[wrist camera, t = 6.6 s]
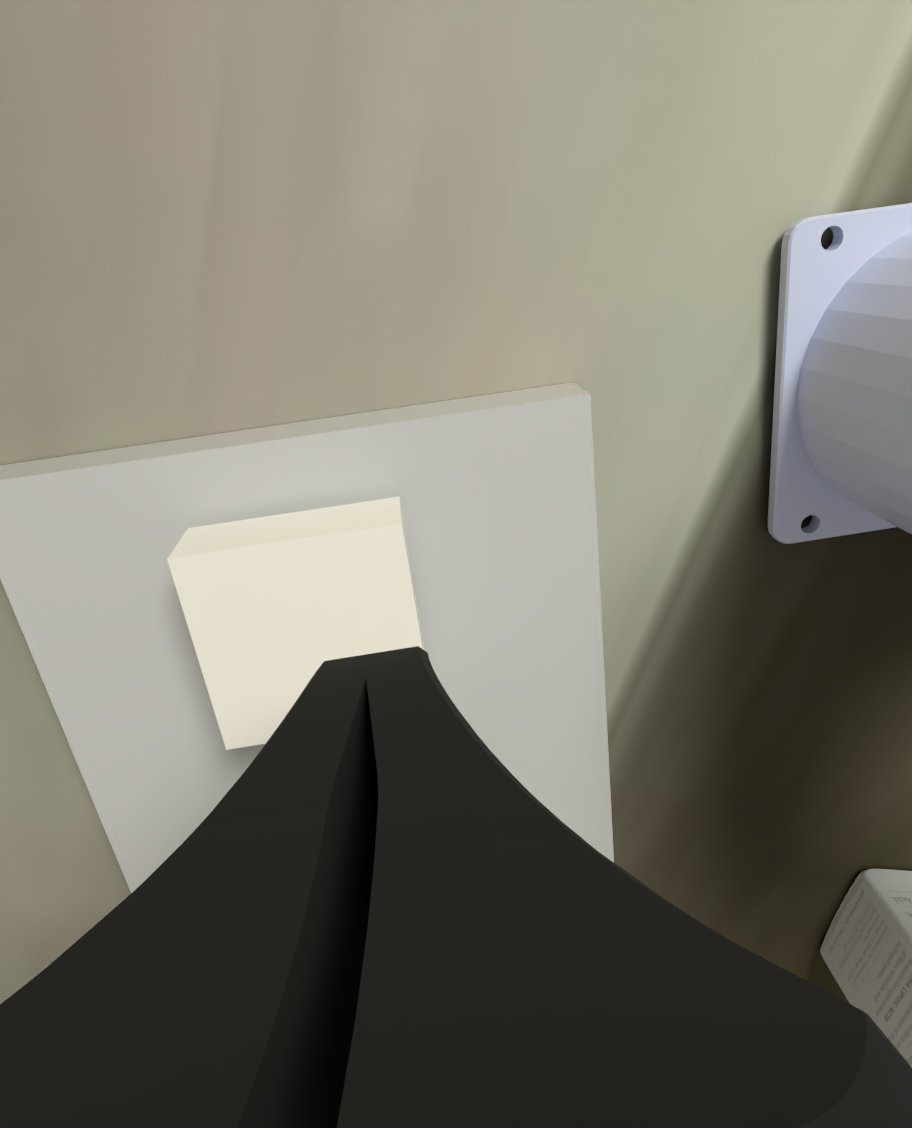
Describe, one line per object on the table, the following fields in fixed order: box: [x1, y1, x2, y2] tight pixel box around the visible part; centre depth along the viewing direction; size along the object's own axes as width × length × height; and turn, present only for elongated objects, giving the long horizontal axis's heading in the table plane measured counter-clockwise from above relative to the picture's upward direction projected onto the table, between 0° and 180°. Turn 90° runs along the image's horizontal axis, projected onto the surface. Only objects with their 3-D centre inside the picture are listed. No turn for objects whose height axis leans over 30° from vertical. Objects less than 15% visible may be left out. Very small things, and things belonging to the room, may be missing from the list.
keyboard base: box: [0, 382, 614, 893], centre depth 21 cm, size 14×22×2 cm, turn 7°
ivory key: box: [167, 496, 425, 750], centre depth 17 cm, size 5×5×3 cm
